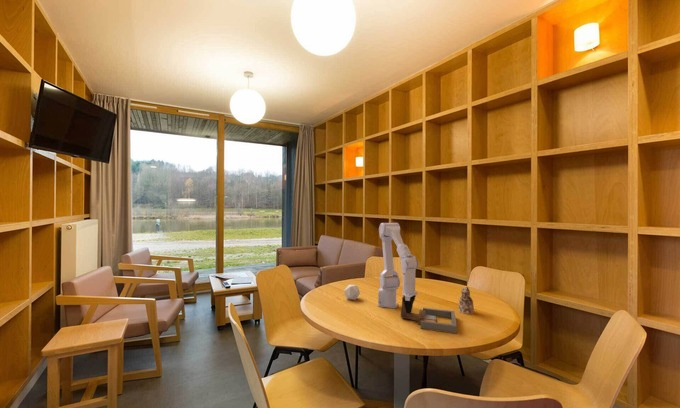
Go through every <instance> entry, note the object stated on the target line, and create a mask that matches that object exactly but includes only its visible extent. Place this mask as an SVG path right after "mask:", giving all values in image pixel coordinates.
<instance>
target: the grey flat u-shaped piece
mask: <svg viewBox="0 0 680 408" xmlns="http://www.w3.org/2000/svg"><path fill="white" fill-rule="evenodd" d="M422 310H425V315H431V316H436V317H440V318H446V319H447V318H448V319H450V320H451V321H450V322H451V323H445V322H430V321H422V320H421V325H420V329H421V330H427V331H436V332H444V333H451V334H457V330H458V327H457V320H456V313H455V311H454V310H448V309H438V308H430V307H422Z"/></svg>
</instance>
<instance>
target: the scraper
mask: <svg viewBox="0 0 680 408" xmlns="http://www.w3.org/2000/svg"><path fill="white" fill-rule="evenodd" d="M402 297H404V296H402ZM424 316H425V310H423V309H419V310H418V313H414V312H411V314H410V313H406V309H405V305H404V302H403V300H402V299H401V309H400V318H403V319H408V320H412V321H416V322H417V325H420V326H421V320H422V321H424Z"/></svg>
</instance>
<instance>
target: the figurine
mask: <svg viewBox="0 0 680 408" xmlns="http://www.w3.org/2000/svg"><path fill="white" fill-rule="evenodd" d="M460 291H461V296H460V297H459V299H458V300H459V301H458V307H457V308H458V312H459V313H461V314H464V315H473V314H474V311H475V309H474V300H473V299H472V297H471V291H470V289H469V287H468V286H466V287H464V288H462V290H460Z"/></svg>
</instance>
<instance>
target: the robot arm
mask: <svg viewBox="0 0 680 408" xmlns="http://www.w3.org/2000/svg"><path fill="white" fill-rule="evenodd" d="M378 233H379V235H378V236H379V239H381V245H382V257H383V258H382V259H383V268H384V269H383V270H382V272H381V273H380V274H379V286H380V287H379V288H378V292H377V293H378V294H377V295H378V296H377V297H378V298H377V299H378V302H377V303H378V305H377V306H378V307H380V308H389V309H396V308H397V307H398V304H399V303H398V302H397V290H398V289H399V287H400V285H401V279H400V276H399V273H398V272H397V271H396V270H395V269H394V255H393V246H392V245H393V244H392V241H393V242H394V243H395V245H396V252H397V254H398V256H399V259H400V267H401V273H402V292H401V293H402V295H403V296H404V297H403V296H402V297H401V298H402V299H401V301H402V300H403V302H404V305H405V309H406V313H410V314H411V313H412V311H413V306H414V305H413V304H414V302H415V299H416V297H417V296H418V295H419V293H418V292H416V270H417V269H418V268H419V261H418V258H417V256H415V255H413V254H412V252H411V250H410V248H409V247H408V245H407V244H405V243H404V240H403V238H402V235H401V226H400V224H399V223H398V222H381V223H380V224H379V227H378Z"/></svg>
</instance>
